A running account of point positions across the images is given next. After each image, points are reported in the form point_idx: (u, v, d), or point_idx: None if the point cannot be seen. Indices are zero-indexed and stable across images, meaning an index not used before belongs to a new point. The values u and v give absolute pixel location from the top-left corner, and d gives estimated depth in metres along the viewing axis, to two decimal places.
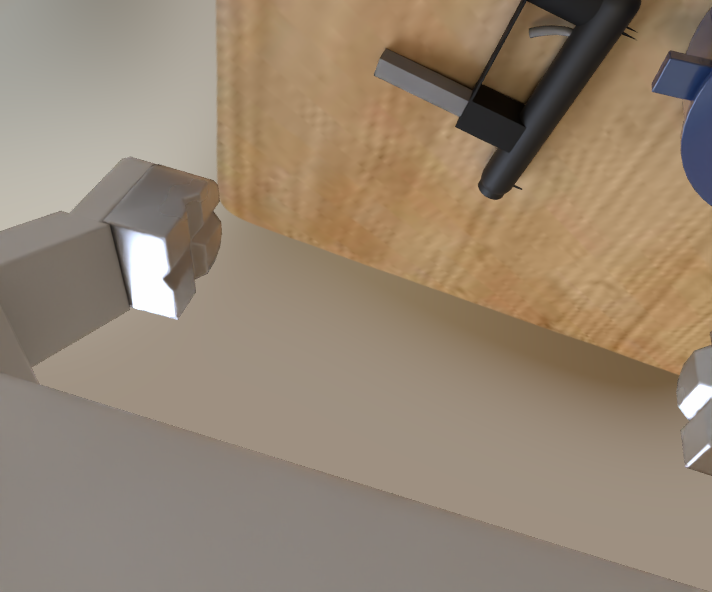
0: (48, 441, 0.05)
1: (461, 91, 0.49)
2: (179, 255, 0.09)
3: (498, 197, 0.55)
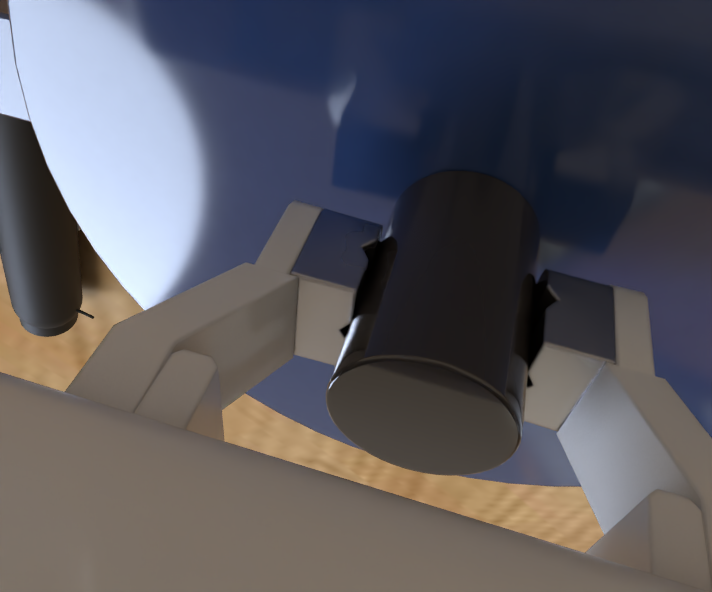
0: (48, 441, 0.05)
1: None
2: (355, 305, 0.09)
3: (51, 332, 0.28)
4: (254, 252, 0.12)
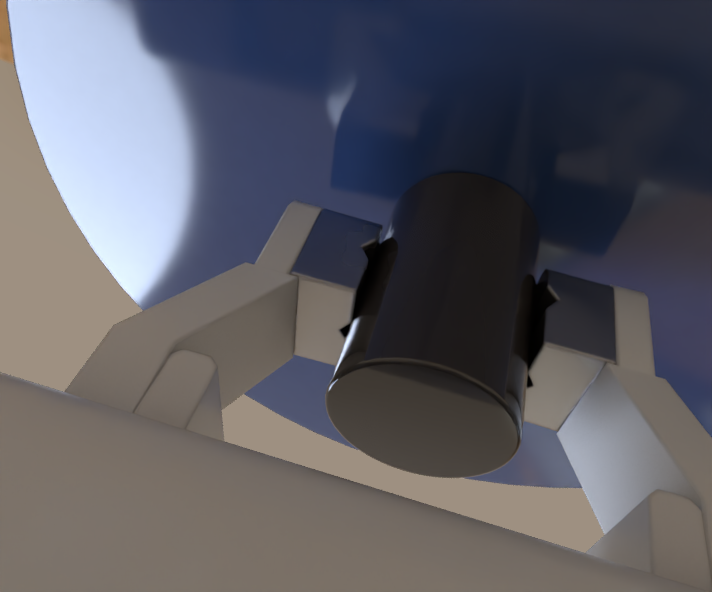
0: (48, 441, 0.05)
1: None
2: (355, 304, 0.09)
3: None
4: (254, 254, 0.12)
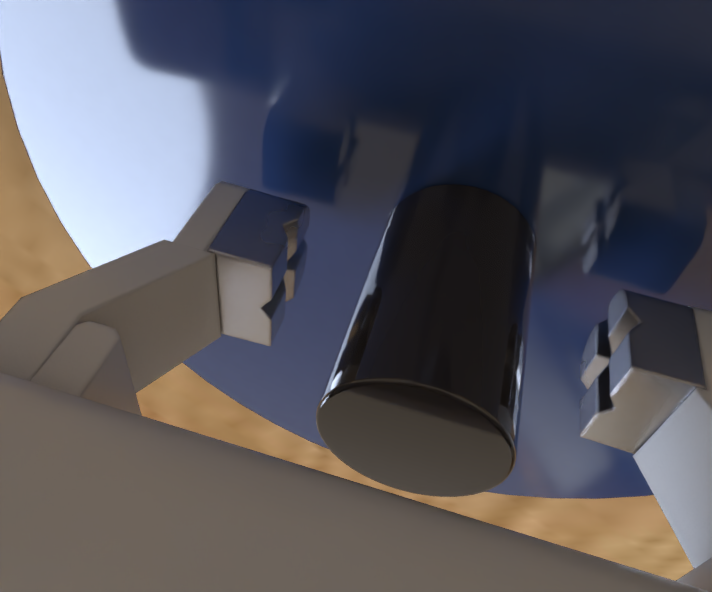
0: (48, 441, 0.05)
1: None
2: None
3: None
4: None
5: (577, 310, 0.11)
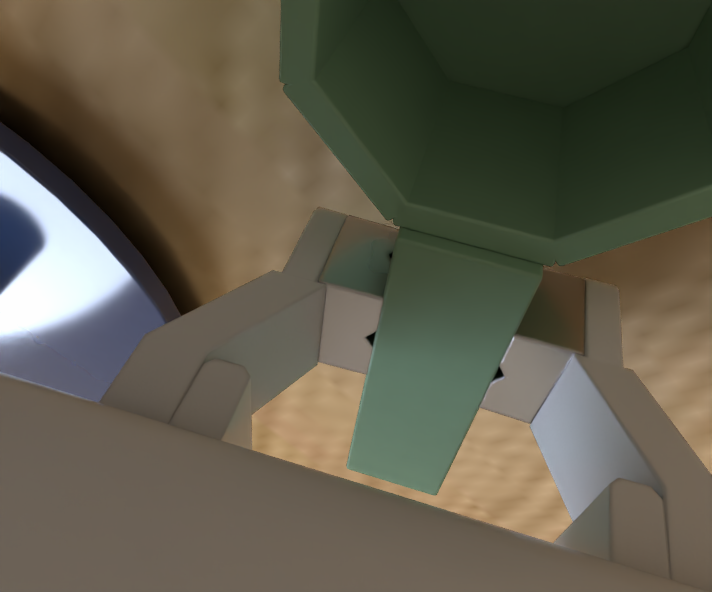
0: (48, 441, 0.05)
1: None
2: None
3: None
4: None
5: (1, 346, 0.18)
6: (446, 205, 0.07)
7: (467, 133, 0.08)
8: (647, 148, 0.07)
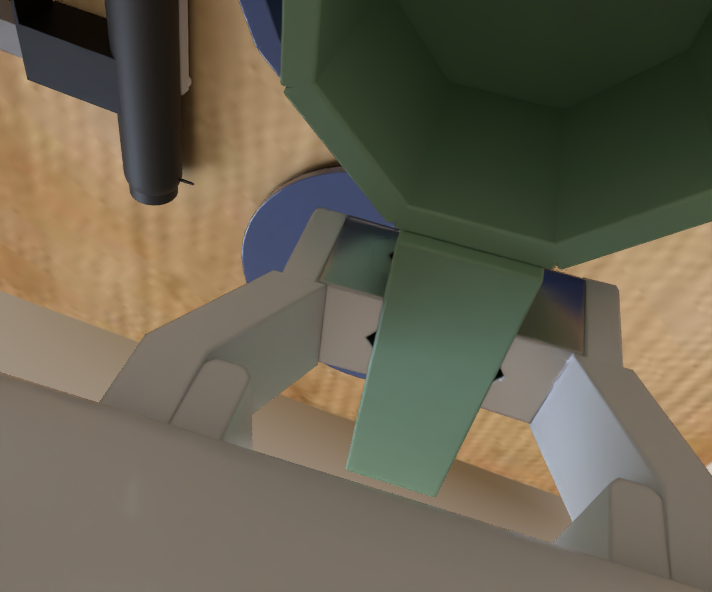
0: (48, 441, 0.05)
1: None
2: None
3: (158, 201, 0.33)
4: None
5: None
6: (447, 208, 0.07)
7: (468, 135, 0.08)
8: (648, 152, 0.07)
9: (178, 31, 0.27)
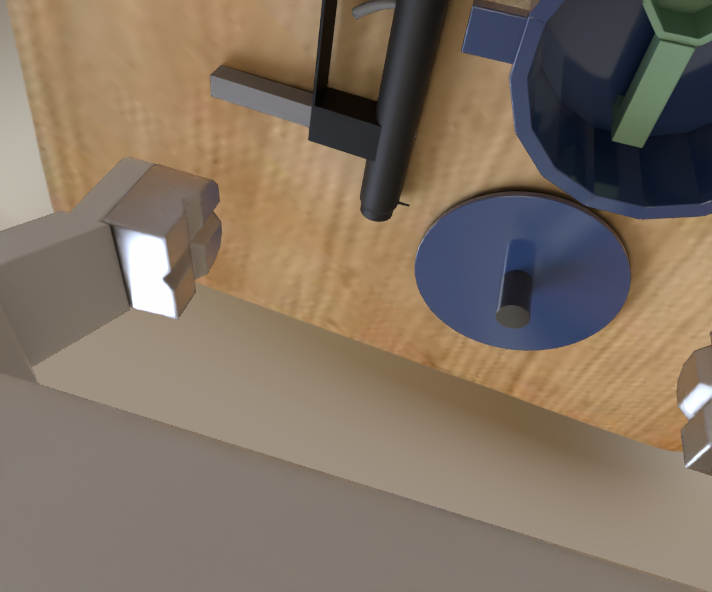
0: (48, 441, 0.05)
1: (307, 98, 0.42)
2: (179, 255, 0.09)
3: (383, 218, 0.46)
4: (464, 285, 0.51)
5: (542, 295, 0.49)
6: (673, 32, 0.31)
7: (670, 19, 0.32)
8: None
9: None
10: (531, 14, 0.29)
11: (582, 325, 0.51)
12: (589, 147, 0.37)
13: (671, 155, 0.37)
